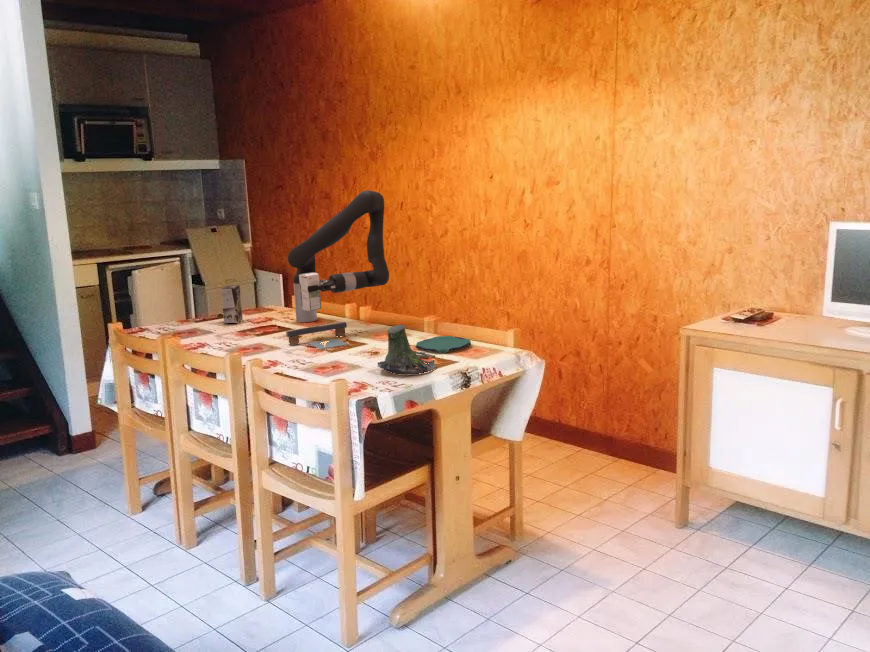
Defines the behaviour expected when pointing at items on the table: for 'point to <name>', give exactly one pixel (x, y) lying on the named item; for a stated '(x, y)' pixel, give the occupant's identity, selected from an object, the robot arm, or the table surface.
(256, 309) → the table surface
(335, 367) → the table surface
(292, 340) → the bar stand
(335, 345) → the slate mat
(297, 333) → the crossbar
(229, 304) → the coffee box
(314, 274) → the syrup box
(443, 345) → the teal irregular flat slab
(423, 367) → the tree stump
